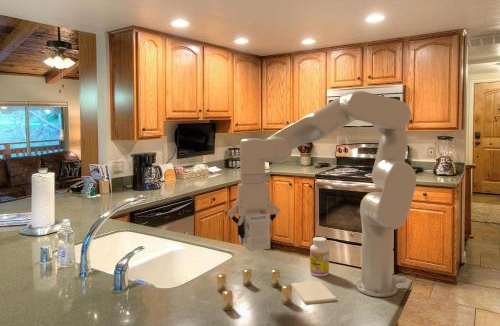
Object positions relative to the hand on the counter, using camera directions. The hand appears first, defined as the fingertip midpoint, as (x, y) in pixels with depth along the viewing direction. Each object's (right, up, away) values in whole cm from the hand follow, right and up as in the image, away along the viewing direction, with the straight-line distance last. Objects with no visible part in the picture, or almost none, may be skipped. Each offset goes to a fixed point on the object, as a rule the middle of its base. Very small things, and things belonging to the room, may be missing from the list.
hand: (254, 235), depth 124 cm
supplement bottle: (+24, -18, +21) cm, 36 cm away
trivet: (+19, -19, +4) cm, 27 cm away
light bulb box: (0, -3, 0) cm, 3 cm away
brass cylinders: (-1, -19, +4) cm, 20 cm away
